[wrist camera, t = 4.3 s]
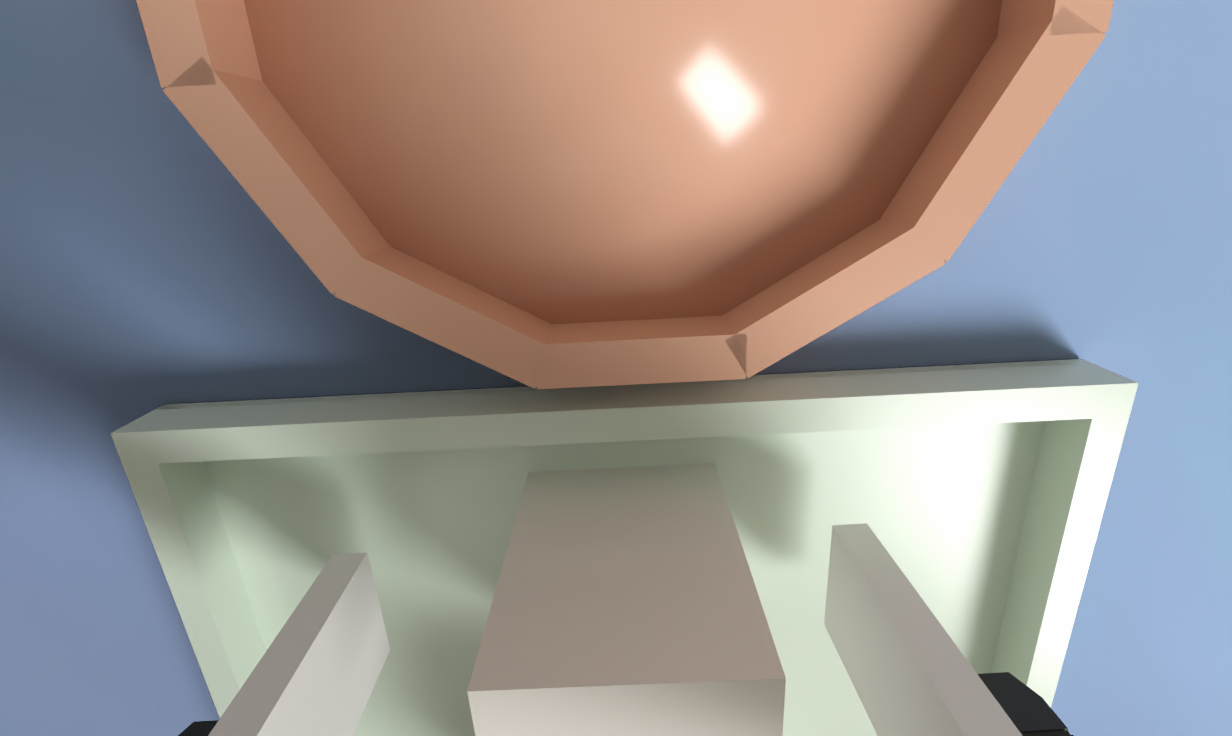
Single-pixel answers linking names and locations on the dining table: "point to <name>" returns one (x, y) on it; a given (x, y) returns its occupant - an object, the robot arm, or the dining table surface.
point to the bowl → (620, 159)
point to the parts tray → (639, 437)
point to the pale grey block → (626, 613)
